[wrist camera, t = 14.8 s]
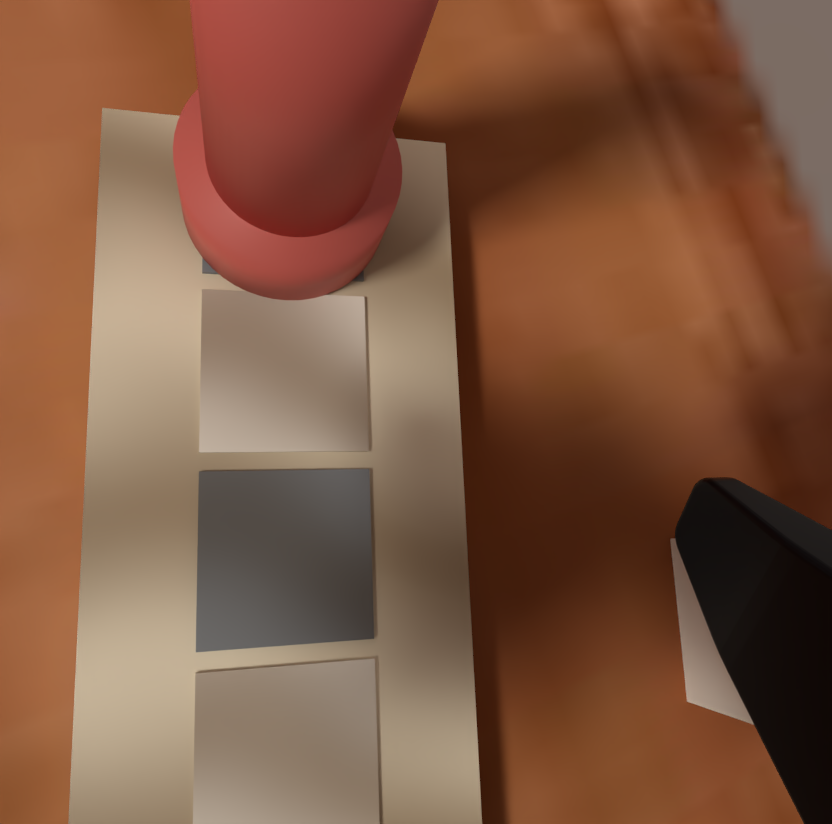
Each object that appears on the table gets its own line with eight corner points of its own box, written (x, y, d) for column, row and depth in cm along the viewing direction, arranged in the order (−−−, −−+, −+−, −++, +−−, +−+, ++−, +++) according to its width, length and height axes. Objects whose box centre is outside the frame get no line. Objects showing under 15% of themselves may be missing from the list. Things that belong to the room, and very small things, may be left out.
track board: (478, 1027, 15) (496, 1064, 14) (67, 1119, 13) (51, 1170, 12) (434, 164, 18) (446, 141, 17) (110, 133, 16) (101, 105, 15)
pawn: (387, 304, 16) (761, -330, 4) (178, 295, 15) (-43, -580, 3) (380, 125, 17) (680, -799, 5) (183, 105, 16) (18, -1121, 4)
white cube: (817, 686, 18) (968, 723, 14) (684, 700, 17) (809, 744, 14) (796, 533, 19) (935, 529, 15) (668, 538, 18) (781, 536, 14)
